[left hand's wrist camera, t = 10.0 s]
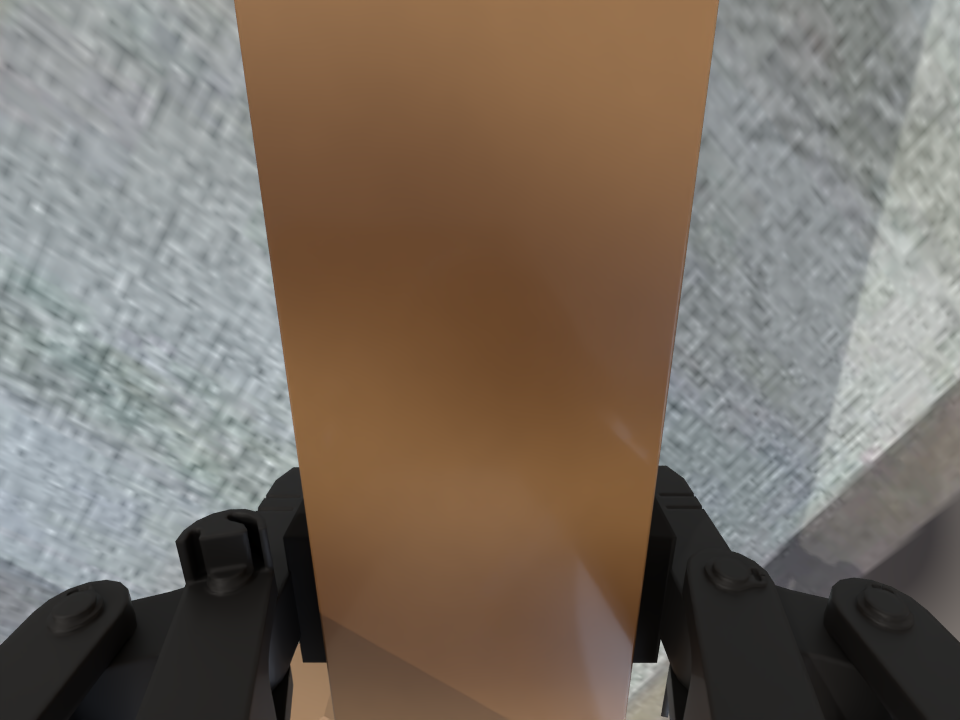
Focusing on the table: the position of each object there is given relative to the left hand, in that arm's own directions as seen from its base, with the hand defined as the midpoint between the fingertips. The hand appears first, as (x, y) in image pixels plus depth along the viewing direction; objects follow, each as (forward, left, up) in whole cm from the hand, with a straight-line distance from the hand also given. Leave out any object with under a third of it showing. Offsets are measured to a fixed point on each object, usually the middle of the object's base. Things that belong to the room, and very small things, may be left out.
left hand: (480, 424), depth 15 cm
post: (+3, +25, -1) cm, 25 cm away
